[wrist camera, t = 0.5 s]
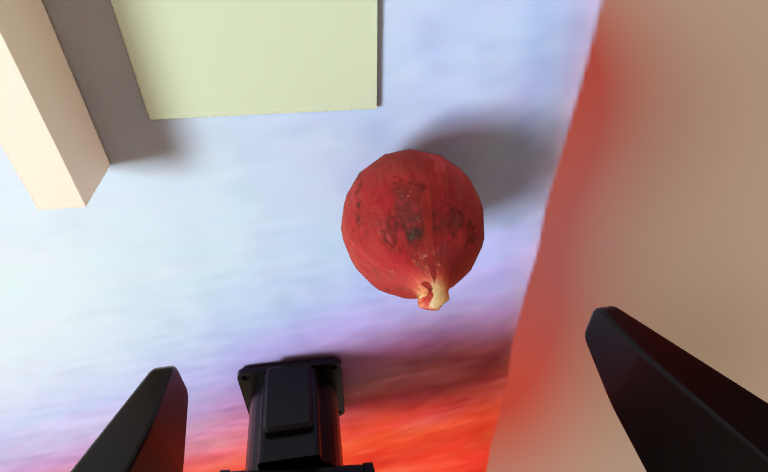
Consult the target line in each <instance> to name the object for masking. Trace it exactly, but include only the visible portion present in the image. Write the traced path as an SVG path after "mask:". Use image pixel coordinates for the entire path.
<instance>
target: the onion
mask: <svg viewBox="0 0 768 472" xmlns="http://www.w3.org/2000/svg"><path fill="white" fill-rule="evenodd" d="M341 231H342V236H343V241H344V243H345V246H346V248H347V251H348V253H349V256H350V258H351V260H352V262H353V264H354V265H355V267H356V269H357V270H358V271H359V272H360V273H361V274H362V275H363V276H364V277H365V278H366V279H367V280H368V281H369V282H370V283H371V284H372V285H373V286H374V287H376V288H377V289H379V290H381V291H383V292H386V293H389V294H392V295H395V296H399V297H402V298H407V299H416V298H418V306H419V307H420V308H423V309H426V310H439V309H440V307H441V306H442V305H443V304H444V303H445V302H447V301H448V300H449V294H448V290H449V289H450V288H451V287H453V286H454V285H456V284H457V283H458V282H459V281H460V280H461V279H462V278H463V277H464V276H466V275H467V273H468V272H469V271H470V270H471V269H472V267H473V265H474V263H475V261H476V259H477V256H478V254H479V252H480V250H481V248H482V245H483V241H484V219H483V207H482V204H481V201H480V199H479V196H478V194H477V192H476V190H475V188H474V186H473V184H472V182H471V180H470V179H469V177H468V176H467V175H466V174H465V173H464V172H463V171H462V170H461V169H460V168H458V167H457V166H455V165H454V164H453V163H451V162H450V161H448V160H447V159H445V158H444V157H442V156H441V155H436V154H431V153H426V152H421V151H416V150H411V149H407V150H403V151H398V152H394V153H389V154H385V155H383V156H382V157H380V158H379V159H378V160H376V161H375V162H374V163H372V164H371V165H370V166H368V167H367V168H366V169H364V170H363V171H361V172H360V173H359V174H358V176H357V178H356V180H355V181H354V183H353V185H352V187H351V188H350V190H349V192H348V193H347V196H346V200H345V203H344V209H343V217H342V225H341Z"/></svg>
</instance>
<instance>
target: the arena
mask: <svg viewBox="0 0 768 472" xmlns="http://www.w3.org/2000/svg"><path fill="white" fill-rule="evenodd" d="M110 1H111V4H112V7H113V10H114V13H115V16H116V19H117V22H118V25H119V28H120V31H121V34H122V37H123V40H124V43H125V46H126V49H127V52H128V55H129V58H130V61H131V64H132V67H133V70H134V73H135V76H136V79H137V82H138V85H139V88H140V91H141V94H142V97H143V100H144V103H145V106H146V109H147V112H148V115H149V118H150V120H154V119H175V118H195V117H216V116H236V115H257V114H277V113H297V112H318V111H338V110H359V109H377V0H110ZM0 144H1V146H2V147H3V149H4V151H5V153H6V154H7V156H8V158H9V160H10V161H11V163H12V165H13V167H14V168H15V170H16V172H17V174H18V175H19V177H20V179H21V181H22V182H23V184H24V186H25V187H26V189H27V191H28V193H29V194H30V196H31V198H32V200H33V201H34V203H35V205H36V207H37V208H38V210H47V209H61V208H75V207H86V205H87V204H88V202H89V200H90V199H91V197H92V195H93V193H94V192H95V190H96V188H97V187H98V185H99V183H100V182H101V180H102V178H103V177H104V175H105V173H106V172H107V170H108V168H109V166H110V163H109V161H108V158H107V156H106V153H105V151H104V149H103V146H102V144H101V141H100V139H99V137H98V134H97V132H96V129H95V127H94V125H93V122H92V120H91V117H90V115H89V113H88V110H87V108H86V106H85V103H84V101H83V98H82V96H81V94H80V91H79V89H78V86H77V84H76V82H75V79H74V77H73V74H72V72H71V70H70V67H69V65H68V62H67V60H66V58H65V55H64V53H63V50H62V48H61V46H60V43H59V41H58V38H57V36H56V34H55V31H54V29H53V27H52V24H51V22H50V19H49V17H48V15H47V12H46V10H45V7H44V5H43V3H42V0H0Z"/></svg>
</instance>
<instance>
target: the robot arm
mask: <svg viewBox="0 0 768 472" xmlns="http://www.w3.org/2000/svg"><path fill="white" fill-rule="evenodd" d="M585 338H586V342H587V345H588V348H589V350H590V353H591V355H592V358H593V360H594V363H595V365H596V368H597V370H598V372H599V375H600V377H601V380H602V383H603V385H604V388H605V390H606V392H607V395H608V397H609V399H610V402H611V404H612V406H613V408H614V410H615V412H616V414H617V416H618V418H619V420H620V422H621V424H622V426H623V427H624V429H625V431H626V433H627V435H628V437H629V439H630V441H631V443H632V444H633V446H634V448H635V450H636V452H637V454H638V456H639V458H640V460H641V462H642V463H643V465H644V467H645V469H646V471H647V472H768V403H766V402H765V401H763V400H762V399H760V398H758V397H757V396H755V395H754V394H752V393H751V392H749V391H747V390H746V389H744V388H743V387H741V386H740V385H738V384H737V383H735V382H733V381H732V380H730V379H729V378H727V377H725V376H724V375H722V374H721V373H719V372H717V371H716V370H714V369H713V368H711V367H710V366H708V365H707V364H705V363H703V362H702V361H700V360H699V359H697V358H695V357H694V356H692V355H691V354H689V353H687V352H686V351H684V350H683V349H681V348H680V347H678V346H676V345H675V344H674V343H672V342H670V341H669V340H667V339H666V338H664V337H663V336H661V335H659V334H658V333H656V332H655V331H653V330H652V329H650V328H648V327H647V326H645V325H644V324H642V323H640V322H639V321H637V320H636V319H634V318H633V317H631V316H629V315H628V314H626V313H625V312H623V311H622V310H620V309H618V308H616V307H613V306H608V307H601V308H596V309H595V310H594V311H593V314H592V316H591V319H590V322H589V324H588V326H587V329H586V332H585ZM238 382H239V385H240V388H241V391H242V394H243V397H244V401H245V404H246V407H247V410H248V413H249V428H248V441H247V454H246V467H245V471H230V470H220V472H375V470H374V466H373V463H372V462H369V463H363V464H362V465H343V456H342V444H341V432H340V420H339V416H341V415H343V414H344V398H343V384H342V370H341V361H340V359H338V358H326V359H318V360H309V361H301V362H292V363H284V364H275V365H267V366H258V367H250V368H243V369H241V370H239V371H238ZM187 407H188V393H187V389H186V386H185V384H184V382H183V380H182V378H181V376H180V374H179V372H178V370H177V368H176V367H174V366H166V367H159V368H155V369H153V370H151V371H150V372H149V374H148V375H147V376H146V377H145V379H144V380H143V381H142V382H141V384H140V385H139V386H138V387H137V389H136V390H135V391H134V392H133V394H132V395H131V396H130V398H129V399H128V400H127V401H126V403H125V404H124V405H123V406H122V408H121V409H120V410H119V411H118V413H117V414H116V415H115V416H114V418H113V419H112V420H111V421H110V423H109V424H108V425H107V426H106V428H105V429H104V430H103V432H102V433H101V434H100V435H99V437H98V438H97V439H96V440H95V442H94V443H93V444H92V445H91V447H90V448H89V449H88V450H87V452H86V453H85V454H84V455H83V457H82V458H81V459H80V460H79V462H78V463H77V464H76V465H75V467H74V468H73V469H72V471H71V472H183V464H184V450H185V436H186V421H187Z"/></svg>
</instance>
